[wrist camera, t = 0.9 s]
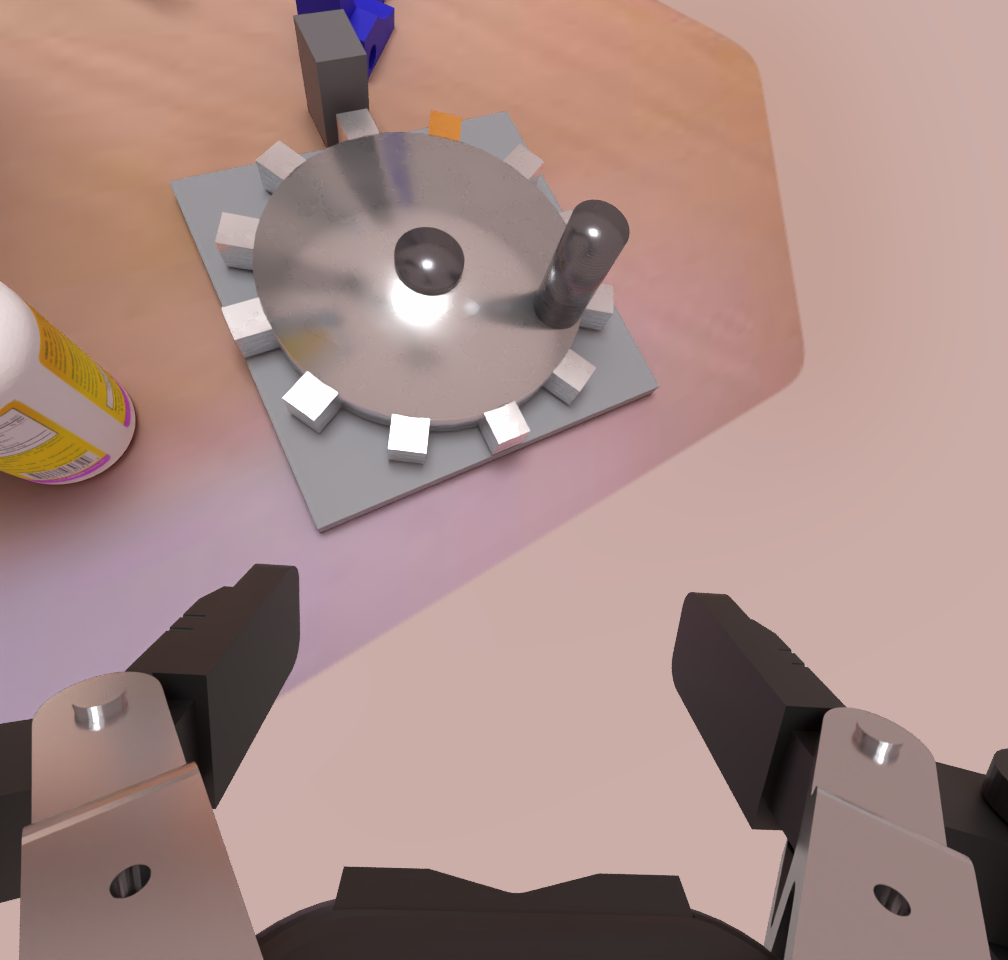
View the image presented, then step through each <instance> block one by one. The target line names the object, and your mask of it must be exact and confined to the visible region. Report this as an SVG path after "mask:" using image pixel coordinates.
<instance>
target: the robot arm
mask: <svg viewBox="0 0 1008 960" xmlns="http://www.w3.org/2000/svg"><path fill="white" fill-rule="evenodd" d="M299 641H300V613H299V574H298V570H297V568H296V567H295V566H285V565H269V564H255V565H254V566H253V567H252V568H251V569H250V570H249V571H248V572H247V573H246V574H245V575H244V576H243V577H242V578H241V579H240V580H239V581H238V582H237V584H236V585H235V586H234V587H226V586H224V587H222V588H220V589H218V590H216V591H214V592H212V593H210V594H208V595H206V596H204V597H202V598H200V599H199V600H198V601H197V602H196V603H195V604H194V605H193V606H192V607H190V608H189V609H188V610H187V611H186V612H185V613H184V614H183V618H181V617H180V618H179V619H178V620H177V621H176V622H175V623H174V624H173V625H172V626H171V627H170V630H169V631H166V632H165V633H164V634H163V635H162V636H161V637H160V638H159V639H158V640H157V641H155V642H154V643H153V644H152V645H151V646H150V647H149V648H148V649H147V650H146V651H145V652H144V653H143V654H142V655H141V656H140V657H139V658H138V659H137V660H136V661H135V662H134V663H133V664H132V665H131V666H130V667H129V668H128V669H127V670H126V671H125V672H116V673H110V674H104V675H100V676H96V677H93V678H90V679H86V680H84V681H81V682H79V683H76V684H74V685H72V686H70V687H68V688H65V689H64V690H62V691H60V692H59V693H57V694H55V695H54V696H53V697H51V698H50V699H49V700H47V701H46V702H45V703H44V704H43V705H42V706H41V707H40V708H39V710H38V711H37V712H36V714H35V716H34V718H33V719H29V720H22V721H16V722H10V723H3V724H0V903H1V902H5V901H9V900H13V899H17V898H20V902H21V903H20V946H19V960H1008V749H1001V750H999V751H997V752H996V753H995V754H994V757H993V759H992V761H991V764H990V767H989V769H988V771H987V774H986V775H984V774H980V773H976V772H973V771H969V770H965V769H961V768H957V767H954V766H950V765H946V764H942V763H938V762H935V760H934V757H933V755H932V754H931V752H930V751H929V749H928V748H927V747H926V746H925V745H924V744H923V743H922V742H921V741H920V740H919V739H918V738H916V737H915V736H914V735H913V734H912V733H910V732H909V731H907V730H906V729H904V728H903V727H901V726H899V725H898V724H896V723H894V722H892V721H890V720H888V719H886V718H884V717H881V716H879V715H877V714H874V713H871V712H868V711H864V710H860V709H855V708H847V707H846V706H845V705H843V703H842V702H841V701H840V700H839V699H838V698H837V697H836V696H835V695H834V694H833V693H832V692H831V691H830V690H829V689H828V688H827V687H826V686H825V685H824V684H823V682H822V681H821V680H820V679H819V678H818V677H817V676H816V675H815V674H814V673H813V672H812V671H811V670H810V669H809V668H808V667H805V666H804V663H803V662H802V661H801V660H800V659H799V658H798V657H797V655H796V654H795V653H791V649H790V648H789V647H788V646H787V645H786V644H785V643H784V642H783V641H782V640H781V639H780V638H779V637H778V636H777V635H776V634H775V633H773V632H772V631H770V630H769V629H767V628H766V627H764V626H762V625H761V624H759V623H758V622H756V621H754V620H752V619H750V618H749V617H748V616H747V615H746V614H745V613H744V612H743V611H742V610H741V608H740V607H739V606H738V605H737V604H736V603H735V602H734V601H733V600H732V599H731V598H730V597H729V596H728V595H726V594H712V593H711V594H710V593H695V592H690V593H689V594H688V595H687V596H686V598H685V600H684V604H683V608H682V612H681V617H680V623H679V627H678V632H677V637H676V642H675V647H674V652H673V658H672V675H673V681H674V684H675V687H676V689H677V692H678V693H679V695H680V697H681V699H682V701H683V703H684V705H685V706H686V708H687V710H688V712H689V714H690V716H691V717H692V719H693V721H694V723H695V725H696V726H697V729H698V730H699V732H700V734H701V736H702V738H703V739H704V741H705V743H706V745H707V747H708V749H709V751H710V753H711V754H712V756H713V758H714V760H715V762H716V764H717V766H718V767H719V769H720V771H721V773H722V774H723V777H724V778H725V780H726V782H727V784H728V785H729V788H730V790H731V791H732V793H733V795H734V797H735V799H736V800H737V802H738V804H739V806H740V808H741V810H742V812H743V813H744V815H745V817H746V819H747V821H748V822H749V825H750V826H751V828H752V829H761V830H783V832H784V834H785V835H786V837H787V841H786V844H785V847H784V851H783V854H782V858H781V863H780V868H779V873H778V878H777V883H776V888H775V893H774V897H773V902H772V907H771V913H770V917H769V922H768V927H767V932H766V937H765V942H764V946H763V945H761V944H760V943H758V942H757V941H755V940H754V939H752V938H751V937H749V936H748V935H746V934H745V933H743V932H741V931H740V930H738V929H736V928H734V927H732V926H730V925H728V924H726V923H725V922H723V921H721V920H718V919H716V918H713V917H711V916H709V915H707V914H704V913H702V912H699V911H696V910H693V909H690V906H689V903H688V900H687V898H686V895H685V892H684V889H683V887H682V884H681V881H680V878H679V876H669V875H668V876H667V875H631V874H595V875H591V876H588V877H584V878H580V879H576V880H572V881H568V882H564V883H560V884H556V885H552V886H548V887H545V888H541V889H537V890H533V891H529V892H525V893H510V892H506V891H502V890H499V889H495V888H492V887H489V886H485V885H482V884H478V883H475V882H471V881H468V880H465V879H461V878H458V877H454V876H451V875H448V874H444V873H441V872H438V871H434V870H430V869H412V868H376V867H375V868H373V867H344V869H343V873H342V877H341V881H340V885H339V889H338V893H337V897H336V899H333V900H330V901H326V902H322V903H319V904H316V905H314V906H311V907H308V908H305V909H303V910H300V911H298V912H296V913H294V914H292V915H290V916H288V917H286V918H284V919H282V920H280V921H278V922H276V923H274V924H273V925H271V926H269V927H268V928H266V929H265V930H263V931H261V932H260V933H259V934H257V935H255V933H254V930H253V927H252V924H251V921H250V918H249V916H248V913H247V910H246V907H245V904H244V901H243V898H242V895H241V892H240V889H239V886H238V883H237V880H236V877H235V875H234V872H233V869H232V866H231V863H230V860H229V857H228V854H227V851H226V848H225V845H224V842H223V839H222V836H221V833H220V831H219V827H218V825H217V822H216V819H215V816H214V813H213V810H212V809H216V807H217V805H218V804H219V802H220V800H221V798H222V797H223V795H224V793H225V791H226V789H227V787H228V785H229V784H230V782H231V780H232V778H233V776H234V775H235V773H236V771H237V769H238V767H239V765H240V763H241V762H242V760H243V758H244V756H245V755H246V753H247V751H248V749H249V747H250V745H251V743H252V742H253V740H254V738H255V736H256V734H257V733H258V731H259V729H260V727H261V725H262V723H263V721H264V720H265V718H266V716H267V714H268V712H269V711H270V709H271V707H272V705H273V703H274V702H275V700H276V698H277V696H278V694H279V692H280V691H281V689H282V687H283V685H284V683H285V681H286V680H287V678H288V676H289V674H290V672H291V671H292V669H293V666H294V664H295V661H296V658H297V654H298V648H299Z"/></svg>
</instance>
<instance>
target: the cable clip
mask: <svg viewBox="0 0 1008 960" xmlns="http://www.w3.org/2000/svg"><path fill="white" fill-rule="evenodd" d="M384 1H385V0H296V5H297V12H298V15H301V14H309V13H317V12H324V11H332V10H339V9H344V11H345V13H346V15H347V17H348V19H349V21H350V23H351V25H352V27H353V29H354V31H355V33H356V35H357V37H358V38H359V40H360V42H361V44H362V46H363V48H364V50H365V52H366V54H367V73H368V78H369V76H370V74H371V72H372V70H373V68H374V66H375V64H376V63H377V61H378V59H379V57H380V55H381V53H382V51H383V49H384V47H385V45H386V43H387V41H388V39H389V37H390V35H391V33H392V31H393V29H394V8H393V7H391V6H388V5H386V4H384Z"/></svg>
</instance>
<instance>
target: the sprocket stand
mask: <svg viewBox="0 0 1008 960" xmlns="http://www.w3.org/2000/svg"><path fill="white" fill-rule="evenodd" d="M293 17H294V23H295V30H296V36H297V42H298V49H299V55H300V61H301V68H302V74H303V80H304V86H305V93H306V99H307V105H308V110H309V113H310V115H311V117H312V119H313V121H314V123H315V125H316V127H317V129H318V131H319V133H320V135H321V137H322V139H323V141H324V143H325V146H326V148H328V147H331V146H333V145H336V144H338V143H339V138H338V128H337V119H336V114H340V113H345V112H351V111H356V110H361V109H366V108H367V109H368V111H369V98H368V73H367V54H366V52H365V50H364V48H363V46H362V44H361V42H360V40H359V38H358V37H357V35H356V33H355V31H354V29H353V27H352V25H351V23H350V21H349V19H348V17H347V15H346V13H345V11H344V9H339V10H332V11H324V12H317V13H309V14H301V15H294V16H293ZM428 131H429V127H428V128H423V129H419V130H414V131H409V132H410V133H424V134H428ZM460 142H463V143H466V144H469V145H471V146H474V147H476V148H479V149H481V150H483V151H485V152H487V153H489V154H491V155H493V156H495V157H497V158H499V159H501V160H502V161H504V160H505V159H506V157H507V156H508V155H509V154H510V153H511V152H512V151H513V150H514V149H515V148H516V147H517V146H518V145H519V144H521V145H522V146H523V147H525V148H526V149H528V148H527V146H526V145H525V143H524V141H523V139H522V137H521V136H520V134H519V132H518V130H517V128H516V127H515V125H514V123H513V121H512V119H511V118H510V116H509V114H508V112H507V111H505V112H500V113H496V114H491V115H486V116H481V117H476V118H471V119H467V120H462V123H461V132H460ZM323 150H324V149H323ZM321 151H322V150H318V151H313V152H308V153H303V154H299V155H300V156H302V157H303V158H304V159H306V160H307V159H308V158H310V157H312V156H313V155H315V154H317V153H319V152H321ZM169 182H170V184H171V187H172V189H173V191H174V194H175V196H176V198H177V201H178V203H179V205H180V208H181V210H182V213H183V215H184V217H185V220H186V222H187V224H188V227H189V229H190V231H191V234H192V236H193V238H194V241H195V243H196V245H197V248H198V250H199V252H200V255H201V257H202V259H203V262H204V264H205V266H206V269H207V271H208V274H209V276H210V278H211V281H212V283H213V285H214V288H215V290H216V292H217V295H218V297H219V299H220V302H221V304H222V306H223V307H226V306H229V305H233V304H237V303H240V302H244V301H247V300H251V299H254V298H258V295H257V291H256V285H255V280H254V275H253V270H248V269H242V268H237V267H231V266H226V265H225V263H224V261H223V259H222V257H221V255H220V252H219V250H218V248H217V246H216V244H215V240H216V236H217V232H218V228H219V224H220V220H221V216H222V212H225V213H231V214H236V215H241V216H247V217H252V218H257V219H260V217H261V215H262V213H263V211H264V209H265V207H266V205H267V203H268V201H269V199H270V197H271V196H272V194H273V193H271V192H270V191H268V190H267V189H266V188H264V187H263V184H262V181H261V177H260V174H259V170H258V167H257V163H255V164H250V165H246V166H241V167H236V168H231V169H226V170H222V171H217V172H212V173H207V174H202V175H198V176H193V177H188V178H183V179H178V180H174V181H169ZM536 187H537V188H538V189H539V190H540V191H541V192H542V193H543V194H544V195H545V196H546V197H547V198H548V199H549V201H550V202H551V203H552V204H553V206H554V207H555V208H556V209H557V211H558V212H559V213H561V212H563V211H562V210H561V208H560V206H559V204H558V202H557V201H556V199H555V197H554V195H553V193H552V192H551V190H550V188H549V186H548V184H547V183H546V181H545V179H544V177H543V175H542V174H541V173H540V176H539V179H538V182H537V185H536ZM601 284H602V283H601ZM570 349H571V350H573V351H574V352H575V353H577V354H578V355H580V356H581V357H582V358H584V359H585V360H587V361H588V362H589V363H591V364H592V365H593V366H595V367H596V369H595V371H594V372H593V373H592V375H591V376H590V378H589V379H588V381H587V382H586V384H585V385H584V387H583V388H582V389H581V391H580V392H579V393H578V395H577V396H576V397H575V398H574V400H573V401H572V402H571V403H570V404H569V405H568V404H567V403H565V402H564V401H563V400H561V399H560V398H558V397H557V396H556V395H554V394H553V393H551V392H550V391H549V390H547V389H546V388H544V387H542V389H541V390H540V391H539V392H537V393H536V394H535V395H534V396H533V397H532V398H531V399H530V400H528V401H527V402H526V403H524V404H523V405H521V406H520V407H518V408H519V410H520V411H521V413H522V415H523V417H524V419H525V421H526V423H527V425H528V427H529V429H530V432H529V434H528V435H527V436H526V438H525V439H524V441H523V442H522V443H520V444H517V445H515V446H512V447H510V448H508V449H505V450H503V451H500V452H498V453H496V454H493V455H492V453H491V451H490V449H489V447H488V445H487V443H486V441H485V439H484V437H483V435H482V433H481V431H480V429H479V427H478V426H475V427H470V428H465V429H459V430H454V431H437V432H428V441H427V450H426V457H425V461H424V464H420V463H412V462H403V461H395V460H388V444H389V437H390V429H391V427H390V426H386V425H383V424H380V423H376V422H373V421H370V420H367V419H365V418H362V417H360V416H358V415H356V414H354V413H352V412H349V411H347V410H345V409H344V408H341V409H340V410H339V411H338V412H337V413H336V414H335V416H334V417H333V418H332V419H331V420H330V421H329V422H328V424H327V425H326V426H325V427H324V428H323V429H322V430H321V432H320V433H318V432H316V431H315V430H313V429H312V428H311V427H309V426H308V425H306V424H305V423H303V422H302V421H301V420H299V419H298V418H296V417H295V416H294V415H292V414H291V413H289V411H288V409H287V407H286V405H285V403H284V400H283V397H284V396H285V394H286V393H287V392H288V391H289V390H290V389H291V388H292V387H293V386H294V385H295V384H296V383H297V382H298V381H299V379H300V378H301V377H302V376H301V375H300V374H299V373H298V372H297V371H296V370H295V369H294V367H293V366H292V365H291V363H290V362H289V361H288V359H287V358H286V356H285V355H284V354H283V352H282V351H281V349H280V347H279V348H276V349H272V350H269V351H266V352H263V353H259V354H256V355H253V356H250V357H247V358H245V360H246V363H247V365H248V367H249V370H250V372H251V374H252V377H253V379H254V381H255V384H256V386H257V388H258V391H259V393H260V395H261V398H262V400H263V403H264V405H265V407H266V410H267V412H268V414H269V417H270V419H271V421H272V424H273V426H274V428H275V431H276V433H277V435H278V438H279V440H280V442H281V445H282V447H283V449H284V452H285V454H286V456H287V459H288V461H289V463H290V466H291V468H292V471H293V473H294V475H295V478H296V480H297V482H298V485H299V487H300V489H301V492H302V494H303V496H304V499H305V501H306V503H307V506H308V508H309V510H310V513H311V515H312V517H313V520H314V522H315V524H316V527H317V529H318V530H319V532H320V533H321V532H323V531H326V530H328V529H330V528H333V527H335V526H337V525H340V524H342V523H345V522H347V521H349V520H352V519H354V518H356V517H359V516H361V515H364V514H366V513H368V512H371V511H373V510H376V509H378V508H380V507H383V506H385V505H387V504H390V503H392V502H395V501H397V500H399V499H402V498H404V497H406V496H409V495H411V494H414V493H416V492H418V491H421V490H423V489H425V488H428V487H430V486H433V485H435V484H437V483H440V482H442V481H444V480H447V479H449V478H452V477H454V476H456V475H459V474H461V473H463V472H466V471H468V470H471V469H473V468H475V467H478V466H480V465H483V464H485V463H487V462H490V461H492V460H494V459H497V458H499V457H502V456H504V455H506V454H509V453H511V452H513V451H516V450H518V449H521V448H523V447H525V446H528V445H530V444H532V443H535V442H537V441H540V440H542V439H544V438H547V437H549V436H551V435H554V434H556V433H559V432H561V431H563V430H566V429H568V428H571V427H573V426H575V425H578V424H580V423H582V422H585V421H587V420H590V419H592V418H594V417H597V416H599V415H601V414H604V413H606V412H609V411H611V410H613V409H616V408H618V407H620V406H623V405H625V404H628V403H630V402H632V401H635V400H637V399H639V398H642V397H644V396H647V395H649V394H651V393H652V392H653V391H655V390H656V389H657V388H658V387H659V385H658V383H657V381H656V379H655V377H654V376H653V374H652V372H651V370H650V368H649V367H648V365H647V363H646V361H645V359H644V358H643V356H642V354H641V352H640V350H639V349H638V347H637V345H636V343H635V341H634V340H633V338H632V336H631V334H630V332H629V330H628V329H627V327H626V325H625V323H624V321H623V320H622V318H621V316H620V314H619V312H618V311H617V309H616V307H615V305H614V303H613V315H612V316H611V317H610V319H609V320H608V322H607V323H606V324H605V326H604V327H603V329H602V330H596V329H591V328H585V327H579V329H578V331H577V334H576V336H575V338H574V341H573V343H572V345H571V347H570Z"/></svg>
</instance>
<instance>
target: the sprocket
mask: <svg viewBox="0 0 1008 960" xmlns="http://www.w3.org/2000/svg"><path fill="white" fill-rule="evenodd" d="M336 119H337V128H338V138H339V143H338V144H336V145H333V146H331V147H328V148H326V149H324V150H322V151H321V152H319V153H317V154H315V155H313V156H312V157H310V158H308V159H307V160H306V159H304V158H303V157H302V156H300V155H299V154H297V153H296V152H295V151H293V150H292V149H290V148H289V147H288V146H286V145H285V144H283V143H282V142H281V141H278V142H276V143H275V144H274V145H273V146H272V147H271V148H269V149H268V150H267V151H266V152H265V153H263V154H262V155H261V156H260V157H259V158H257V159H256V163H257V167H258V170H259V174H260V177H261V181H262V184H263V187H264V188H266V189H267V190H268V191H270V192H271V193H273V194H272V196H271V197H270V199H269V201H268V203H267V205H266V207H265V209H264V211H263V213H262V215H261V217H260V219H257V218H252V217H247V216H241V215H236V214H231V213H225V212H222V216H221V220H220V224H219V228H218V232H217V236H216V240H215V244H216V246H217V248H218V250H219V252H220V255H221V257H222V259H223V261H224V263H225V265H226V266H231V267H237V268H242V269H248V270H253V275H254V280H255V285H256V291H257V295H258V298H254V299H251V300H247V301H244V302H240V303H237V304H233V305H229V306H226V307H222V308H221V310H222V312H223V314H224V317H225V319H226V321H227V324H228V326H229V329H230V331H231V333H232V336H233V338H234V340H235V342H236V344H237V346H238V348H239V349H240V351H241V353H242V355H243V357H244V358H247V357H250V356H253V355H256V354H259V353H263V352H266V351H269V350H272V349H276V348H279V347H280V349H281V351H282V352H283V354H284V355H285V356H286V358H287V359H288V361H289V362H290V363H291V365H292V366H293V367H294V369H295V370H296V371H297V372H298V373H299V374H300V375H301V376H302V377H301V378H300V379H299V381H298V382H297V383H296V384H295V385H294V386H293V387H292V388H291V389H290V390H289V391H288V392H287V393H286V394H285V396H284V397H283V400H284V403H285V405H286V407H287V409H288V411H289V413H291V414H292V415H294V416H295V417H296V418H298V419H299V420H301V421H302V422H303V423H305V424H306V425H308V426H309V427H311V428H312V429H313V430H315V431H316V432H318V433H320V432H321V430H322V429H323V428H324V427H325V426H326V425H327V424H328V422H329V421H330V420H331V419H332V418H333V417H334V416H335V414H336V413H337V412H338V411H339V410H340V409H341V408H344V409H345V410H347V411H349V412H352V413H354V414H356V415H358V416H360V417H362V418H365V419H367V420H370V421H373V422H376V423H380V424H383V425H386V426H390V427H391V429H390V437H389V444H388V460H395V461H403V462H412V463H420V464H424V461H425V457H426V450H427V441H428V432H437V431H454V430H459V429H465V428H470V427H475V426H478V427H479V429H480V431H481V433H482V435H483V437H484V439H485V441H486V443H487V445H488V447H489V449H490V451H491V453H492V455H493V454H496V453H498V452H500V451H503V450H505V449H508V448H510V447H512V446H515V445H517V444H520V443H522V442H523V441H524V439H525V438H526V436H527V435H528V434H529V432H530V429H529V427H528V425H527V423H526V421H525V419H524V417H523V415H522V413H521V411H520V410H519V408H518V407H520V406H521V405H523V404H524V403H526V402H527V401H528V400H530V399H531V398H532V397H533V396H534V395H535V394H536V393H537V392H539V391H540V390H541V389H542V387H544V388H546V389H547V390H549V391H550V392H551V393H553V394H554V395H556V396H557V397H558V398H560V399H561V400H563V401H564V402H565V403H567V404H568V405H569V404H570V403H571V402H572V401H573V400H574V398H575V397H576V396H577V395H578V393H579V392H580V391H581V389H582V388H583V387H584V385H585V384H586V382H587V381H588V379H589V378H590V376H591V375H592V373H593V372H594V371H595V369H596V367H595V366H593V365H592V364H591V363H589V362H588V361H587V360H585V359H584V358H582V357H581V356H580V355H578V354H577V353H575V352H574V351H573V350H571V349H570V347H571V345H572V343H573V341H574V338H575V336H576V334H577V331H578V329H579V327H585V328H591V329H596V330H602V329H603V327H604V326H605V324H606V323H607V322H608V320H609V319H610V317H611V316H612V315H613V286H612V285H607V284H601V283H602V281H603V280H604V278H605V276H606V275H607V273H608V272H609V270H610V268H611V267H612V265H613V264H614V262H615V260H616V259H617V257H618V256H619V254H620V252H621V251H622V249H623V247H624V246H625V244H626V243H627V241H628V238H629V225H628V223H627V220H626V218H625V217H624V215H623V214H622V213H621V212H620V211H619V210H618V209H617V208H616V207H614V206H613V205H611V204H609V203H607V202H604V201H601V200H587V201H584V202H582V203H580V204H579V205H577V206H576V207H575V209H572V210H568V211H565V212H561V213H559V212H558V211H557V209H556V208H555V207H554V206H553V204H552V203H551V202H550V201H549V199H548V198H547V197H546V196H545V195H544V194H543V193H542V192H541V191H540V190H539V189H538V188H537V187H536V185H537V182H538V179H539V176H540V173H541V170H542V167H543V164H544V161H543V160H541V159H540V158H539V157H537V156H536V155H534V154H533V153H532V152H530V151H529V150H528V149H526V148H525V147H523V146H522V145H521V144H519V145H518V146H517V147H516V148H515V149H514V150H513V151H512V152H511V153H510V154H509V155H508V156H507V157H506V159H505V160H504V161H502V160H501V159H499V158H497V157H495V156H493V155H491V154H489V153H487V152H485V151H483V150H481V149H479V148H476V147H474V146H471V145H469V144H466V143H463V142H460V132H461V123H462V117H458V116H454V115H449V114H445V113H441V112H437V111H432V110H431V115H430V123H429V131H428V134H424V133H410V132H392V133H379V131H378V129H377V127H376V125H375V123H374V121H373V119H372V117H371V115H370V113H369V111H368V109H367V108H366V109H361V110H356V111H351V112H345V113H340V114H336Z"/></svg>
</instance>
